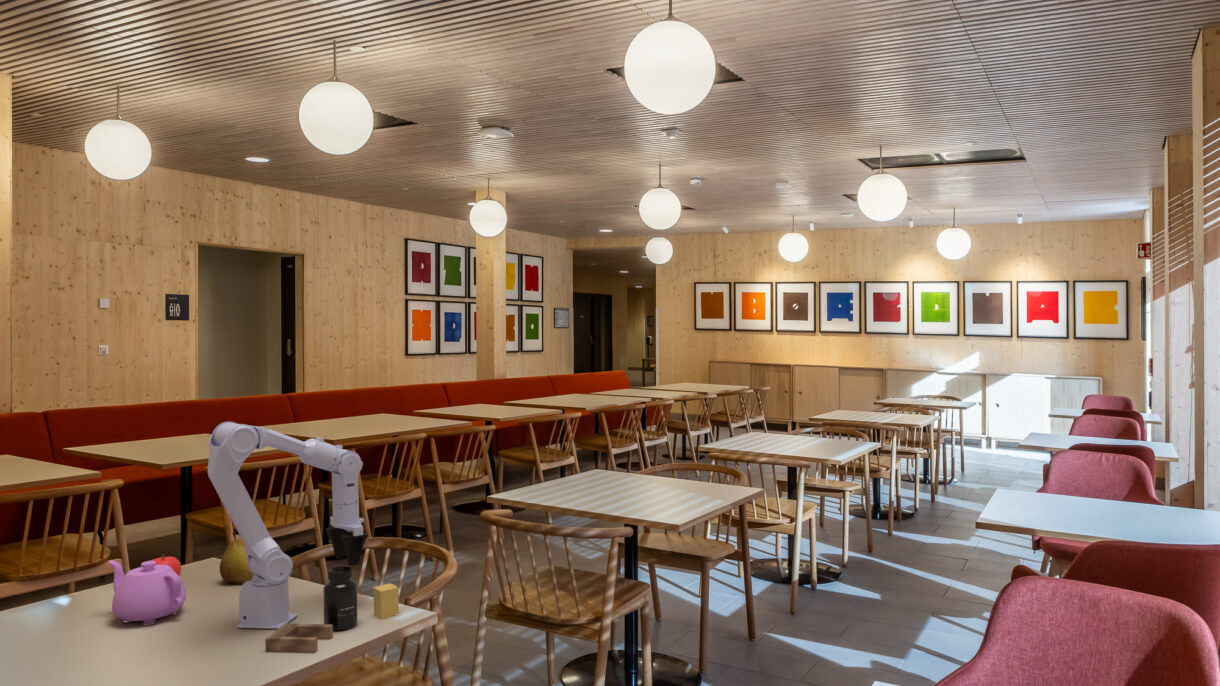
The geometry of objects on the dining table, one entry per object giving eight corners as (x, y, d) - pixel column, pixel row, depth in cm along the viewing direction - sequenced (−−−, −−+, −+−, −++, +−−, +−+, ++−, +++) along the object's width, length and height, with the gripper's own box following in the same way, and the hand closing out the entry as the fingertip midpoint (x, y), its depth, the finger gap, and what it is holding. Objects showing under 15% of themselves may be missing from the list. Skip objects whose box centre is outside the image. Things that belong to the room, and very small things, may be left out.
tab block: (381, 619, 174) (380, 591, 174) (373, 614, 177) (373, 587, 177) (398, 614, 177) (398, 587, 176) (391, 610, 180) (390, 583, 180)
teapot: (82, 623, 174) (81, 567, 174) (138, 602, 188) (136, 550, 188) (156, 632, 169) (154, 574, 168) (208, 609, 182) (206, 555, 182)
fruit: (257, 584, 200) (256, 536, 199) (217, 588, 197) (215, 539, 197) (262, 574, 208) (260, 527, 208) (223, 577, 205) (222, 530, 205)
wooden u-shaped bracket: (265, 651, 158) (265, 638, 157) (286, 635, 165) (285, 623, 165) (314, 652, 156) (314, 639, 156) (333, 636, 164) (332, 624, 164)
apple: (137, 591, 196) (136, 558, 196) (160, 580, 204) (159, 549, 204) (166, 592, 195) (165, 559, 194) (189, 582, 202) (188, 550, 202)
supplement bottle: (347, 632, 166) (346, 575, 166) (317, 630, 168) (315, 573, 168) (364, 620, 173) (362, 565, 173) (335, 619, 175) (333, 563, 174)
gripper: (375, 504, 182) (377, 564, 182) (350, 494, 193) (351, 551, 193) (344, 509, 177) (346, 571, 177) (320, 499, 188) (322, 557, 189)
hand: (347, 561), depth 185 cm, fingers open, 7 cm apart
